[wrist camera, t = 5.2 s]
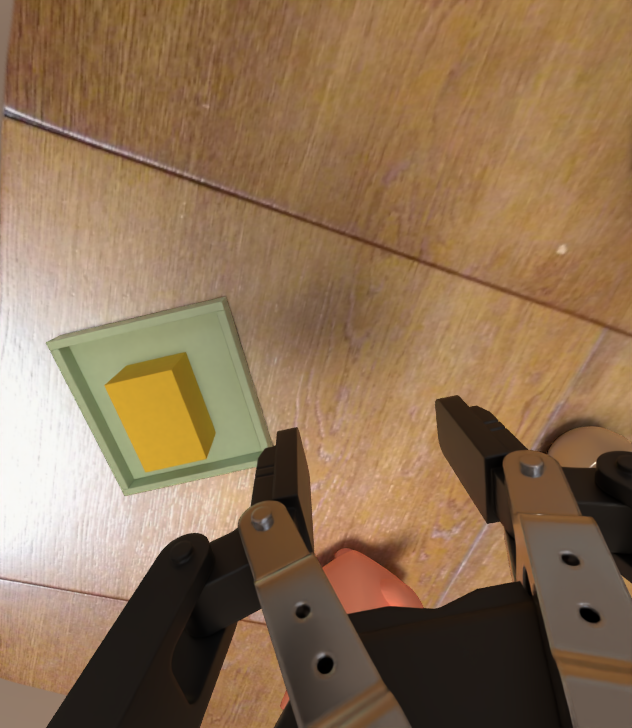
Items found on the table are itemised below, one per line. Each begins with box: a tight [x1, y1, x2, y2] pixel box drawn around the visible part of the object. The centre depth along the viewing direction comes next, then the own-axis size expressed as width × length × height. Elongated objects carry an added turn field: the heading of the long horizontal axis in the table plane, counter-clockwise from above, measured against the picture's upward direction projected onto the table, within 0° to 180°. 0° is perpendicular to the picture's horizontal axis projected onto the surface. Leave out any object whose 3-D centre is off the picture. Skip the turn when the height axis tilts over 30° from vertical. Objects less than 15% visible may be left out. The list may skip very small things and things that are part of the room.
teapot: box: [280, 548, 424, 710], centre depth 33 cm, size 14×12×10 cm
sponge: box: [104, 352, 216, 472], centre depth 27 cm, size 7×4×4 cm, turn 13°
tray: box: [46, 297, 273, 496], centre depth 28 cm, size 13×12×2 cm
